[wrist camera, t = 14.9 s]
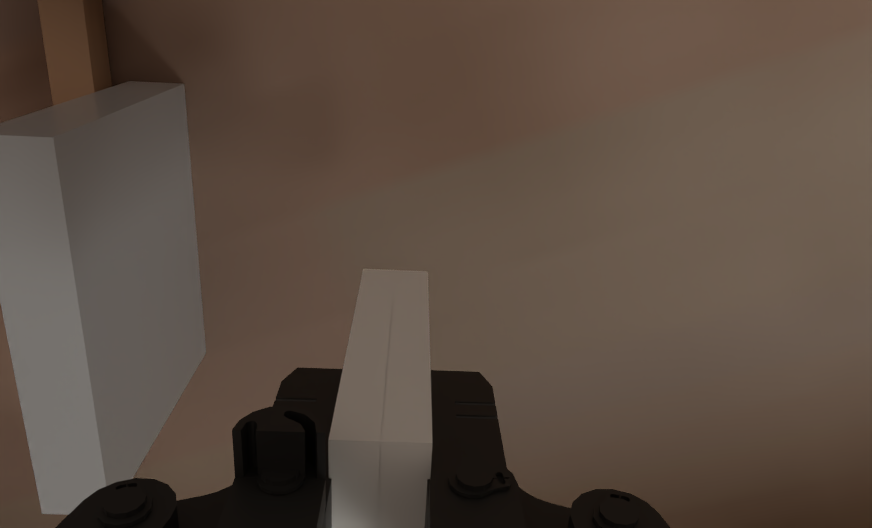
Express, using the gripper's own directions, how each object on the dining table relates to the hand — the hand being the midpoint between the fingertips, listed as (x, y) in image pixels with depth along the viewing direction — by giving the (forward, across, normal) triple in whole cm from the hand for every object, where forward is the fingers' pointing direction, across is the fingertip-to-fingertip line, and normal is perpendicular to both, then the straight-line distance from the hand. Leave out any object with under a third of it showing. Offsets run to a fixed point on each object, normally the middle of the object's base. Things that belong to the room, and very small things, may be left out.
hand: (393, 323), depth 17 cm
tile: (+7, -7, 0) cm, 10 cm away
